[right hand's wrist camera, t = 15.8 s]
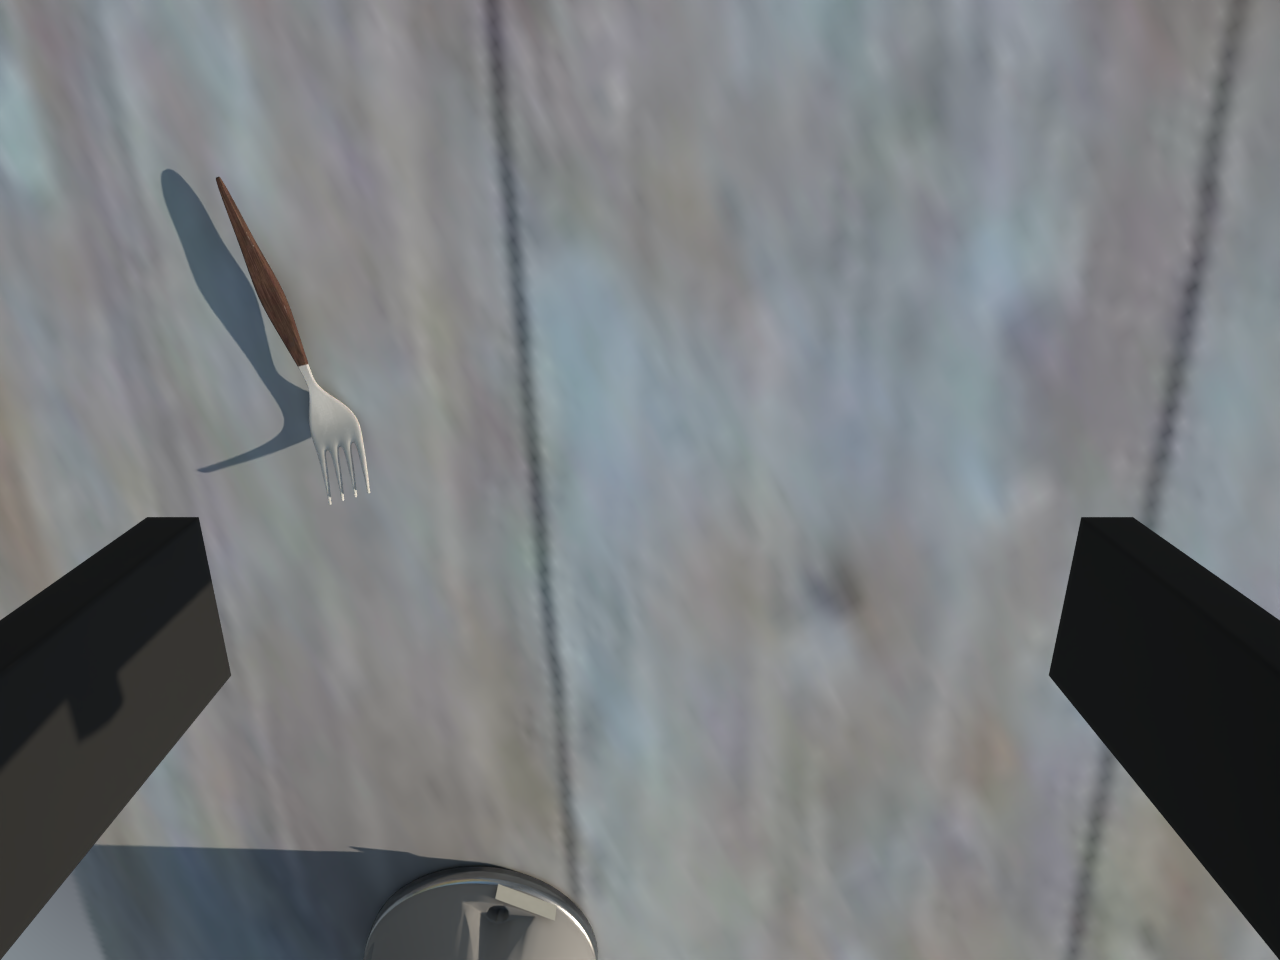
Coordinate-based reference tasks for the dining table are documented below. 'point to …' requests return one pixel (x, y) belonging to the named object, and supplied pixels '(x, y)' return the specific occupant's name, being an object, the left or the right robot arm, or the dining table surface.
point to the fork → (300, 359)
